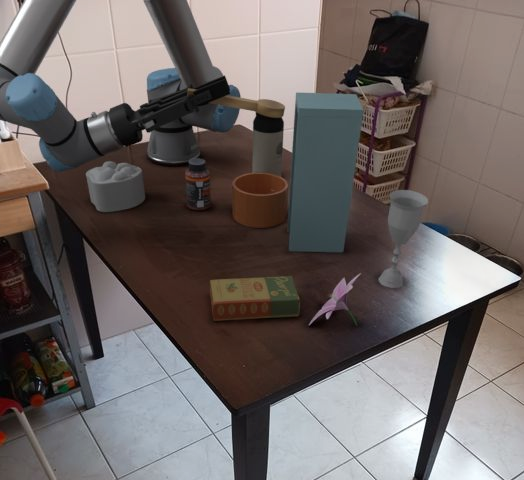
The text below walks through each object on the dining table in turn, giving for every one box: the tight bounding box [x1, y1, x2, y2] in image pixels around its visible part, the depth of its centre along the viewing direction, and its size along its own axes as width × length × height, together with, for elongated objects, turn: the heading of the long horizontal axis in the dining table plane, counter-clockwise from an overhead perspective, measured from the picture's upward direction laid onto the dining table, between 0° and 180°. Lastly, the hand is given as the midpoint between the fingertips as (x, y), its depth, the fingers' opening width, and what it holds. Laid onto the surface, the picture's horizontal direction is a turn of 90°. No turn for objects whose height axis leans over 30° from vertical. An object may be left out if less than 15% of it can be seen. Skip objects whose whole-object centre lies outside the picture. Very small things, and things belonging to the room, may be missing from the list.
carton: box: [209, 275, 301, 322], centre depth 101 cm, size 8×16×4 cm, turn 98°
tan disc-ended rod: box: [187, 88, 286, 118], centre depth 105 cm, size 19×6×2 cm, turn 93°
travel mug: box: [251, 111, 285, 177], centre depth 143 cm, size 8×8×18 cm
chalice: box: [378, 189, 429, 289], centre depth 105 cm, size 7×7×18 cm
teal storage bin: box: [286, 92, 365, 253], centre depth 113 cm, size 10×12×30 cm
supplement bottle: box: [184, 158, 212, 211], centre depth 131 cm, size 6×6×11 cm
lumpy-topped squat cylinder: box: [85, 160, 146, 213], centre depth 133 cm, size 10×13×9 cm
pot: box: [231, 172, 289, 229], centre depth 129 cm, size 13×13×8 cm
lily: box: [308, 272, 362, 326], centre depth 98 cm, size 12×12×10 cm
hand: (227, 84), depth 103 cm, fingers closed on tan disc-ended rod, 2 cm apart
